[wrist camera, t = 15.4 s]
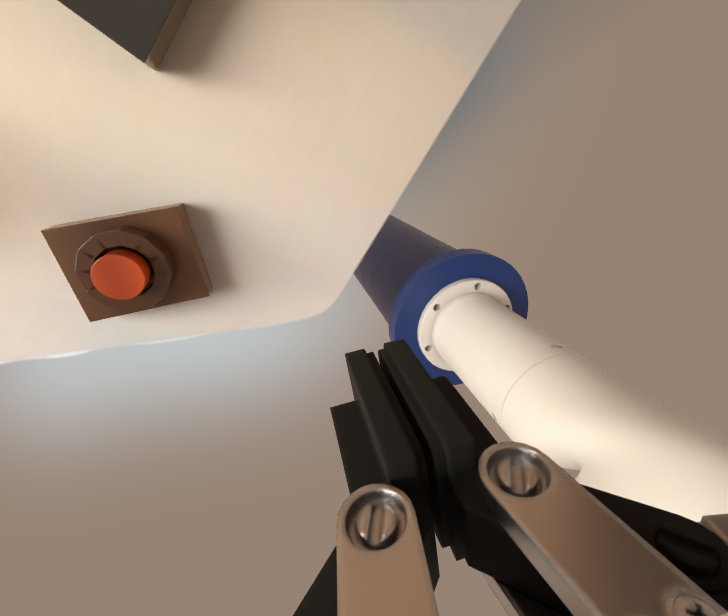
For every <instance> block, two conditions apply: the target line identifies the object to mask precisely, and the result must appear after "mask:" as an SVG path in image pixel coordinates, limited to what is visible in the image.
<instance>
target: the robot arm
mask: <svg viewBox="0 0 728 616" xmlns="http://www.w3.org/2000/svg"><path fill="white" fill-rule="evenodd" d="M434 305H435V306H434ZM417 335H418V342H419V346H420V348H421V350H422V353H423V354H424V355H425V357H426V358H427V359H428V360H429V361H430V362H431V363H432V364H433V365H435V366H437V367H438V368H441V369H444V370H448V371H454V372H455V373H456V374H457V376H458V377H459V378H460V379H461V380H462V382H463V383H464V384H465V385H466V386H467V388H468V389H469V390H470V391H471V392H472V393H473V395H474V396H475V397H476V398H477V399H478V401H479V402H480V403H481V404H482V405H483V407H484V408H485V409H486V410H487V411H488V412H489V414H490V415H491V416H492V417H493V418H494V420H495V421H496V422H497V423H498V424H499V425H500V427H501V428H502V429H503V430H504V431H505V433H506V434H507V435H508V436H509V437H510V438H511V440H512V442H500V443H497V441H496V440H495V439H494V438H493V437H492V435H491V434H490V432H489V431H488V430H487V429H486V428H485V426H484V425H483V423H482V422H481V421H480V420H479V418H478V417H477V416H476V415H475V413H474V412H473V411H472V409H471V408H470V407H469V406H468V405H467V403H466V402H465V400H464V399H463V398H462V397H461V395H460V394H459V393H458V391H457V390H456V389H455V388H454V387H453V385H452V384H451V382H450V381H449V380H448V379H447V378H446V377H445V376H440V377H436V378H433V379H432V378H431V377H430V375H429V374H428V372H427V371H426V370H425V368H424V367H423V365H422V364H421V363H420V361H419V360H418V358H417V357H416V355H415V354H414V353H413V351H412V350H411V348H410V347H409V346H408V344H407V343H406V341H405V340H404V339H399V340H395V341H391V342H388V343H384V349H381V350H378V356H379V362H380V365H379V363H378V361H377V359H376V357H375V355H374V353H373V352H370V353H366V351H365V350H364V349H361V350H357V351H354V352H350V353H346V354H345V357H346V362H347V366H348V371H349V376H350V381H351V385H352V390H353V395H354V399H355V401H352V402H349V403H345V404H341V405H338V406H335V407H331V408H330V409H331V413H332V417H333V422H334V426H335V431H336V435H337V440H338V444H339V448H340V453H341V457H342V461H343V465H344V470H345V474H346V478H347V483H348V487H349V492H350V496H349V497H348V498H347V499H346V500H345V501H344V502H343V504H342V506H341V508H340V510H339V513H338V517H337V524H336V542H337V543H336V544H337V545H336V547H335V549H334V550H333V552H332V553H331V555H330V557H329V558H328V560H327V561H326V563H325V565H324V566H323V568H322V569H321V571H320V573H319V574H318V576H317V578H316V579H315V581H314V583H313V584H312V586H311V587H310V589H309V590H308V592H307V594H306V595H305V597H304V599H303V600H302V602H301V603H300V605H299V607H298V608H297V610H296V612H295V613H294V615H293V616H439V613H438V609H437V605H436V600H435V596H434V590H435V588H436V585H437V582H438V579H439V577H440V575H439V566H438V557H437V549H436V540H435V533H436V536H437V538H438V540H439V542H440V545H441V546H442V548H444V547H447V546H450V547H451V549H452V552H453V554H454V556H455V558H456V561H458V560H460V559H463V558H465V559H466V562H467V564H468V565H469V566H470V567H473V568H475V569H477V570H479V571H481V572H483V575H484V577H485V579H486V582H487V583H488V585H489V587H490V588H491V590H492V591H493V593H494V594H495V596H496V598H497V599H498V601H499V602H500V604H501V605H502V606H503V608H504V610H505V611H506V613H507V614H508V615H509V616H728V436H726V435H724V434H722V433H720V432H718V431H716V430H713V429H711V428H709V427H707V426H705V425H703V424H701V423H698V422H697V421H695V420H693V419H690V418H688V417H686V416H684V415H682V414H680V413H678V412H676V411H674V410H672V409H670V408H668V407H666V406H664V405H662V404H660V403H658V402H656V401H654V400H653V399H651V398H649V397H647V396H645V395H643V394H642V393H640V392H638V391H636V390H635V389H633V388H631V387H629V386H628V385H626V384H625V383H623V382H621V381H619V380H618V379H616V378H615V377H613V376H612V375H610V374H608V373H607V372H605V371H604V370H602V369H600V368H599V367H597V366H596V365H594V364H593V363H591V362H590V361H588V360H586V359H585V358H584V357H582V356H580V355H579V354H577V353H576V352H574V351H573V350H571V349H570V348H568V347H567V346H565V345H564V344H562V343H561V342H559V341H557V340H556V339H555V338H553V337H552V336H550V335H548V334H547V333H545V332H544V331H542V330H541V329H539V328H538V327H536V326H535V325H533V324H532V323H530V322H528V321H527V320H526V319H524V318H523V317H521V316H520V315H518V314H517V313H515V312H513V311H512V305H511V302H510V299H509V297H508V296H507V294H506V292H505V291H504V290H503V289H502V288H501V287H499V286H498V285H496V284H495V283H493V282H491V281H488V280H486V279H481V278H466V279H461V280H458V281H456V282H453V283H451V284H449V285H447V286H446V287H444V288H442V289H441V290H440V291H439V292H438V293H437V294H435V295H434V296H433V298H432V299H431V300H430V301H429V302H428V303H427V305H426V307H425V309H424V310H423V312H422V315H421V317H420V320H419V324H418V329H417ZM561 467H562V468H567V469H573V470H580V473H579V475H578V477H577V478H576V479H574V478H572V477H571V476H570V475H569V474H568V473H566V471H564V470H563V469H562V468H561Z"/></svg>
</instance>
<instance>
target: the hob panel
mask: <svg viewBox="0 0 728 616" xmlns="http://www.w3.org/2000/svg"><path fill="white" fill-rule="evenodd" d="M58 1H59V2H61V3H62V4H63V5H65V6H66V7H67V8H69V9H70V10H72V11H73V12H74V13H76V14H77V15H78V16H80V17H81V18H83V19H84V20H85V21H87V22H88V23H90V24H91V25H92V26H94V27H95V28H96V29H98V30H99V31H101V32H102V33H103V34H105V35H106V36H107V37H109V38H110V39H112V40H113V41H114V42H116V43H117V44H118V45H120V46H121V47H123V48H124V49H125V50H127V51H128V52H129V53H131V54H132V55H134V56H135V57H136V58H138V59H139V60H140V61H142V62H143V63H145V64H146V65H148V66H149V67H150V68H152V69H153V70H155V71H156V70H157V69H158V67H159V65H160V63H161V61H162V59H163V57H164V55H165V53H166V51H167V49H168V47H169V45H170V43H171V41H172V39H173V37H174V35H175V33H176V31H177V29H178V27H179V25H180V23H181V21H182V19H183V17H184V15H185V13H186V11H187V9H188V7H189V5H190V3H191V1H192V0H58Z"/></svg>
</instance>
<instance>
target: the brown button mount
mask: <svg viewBox="0 0 728 616" xmlns="http://www.w3.org/2000/svg"><path fill="white" fill-rule="evenodd" d="M41 232H42V234H43V236H44V238H45V239H46V241H47V243H48V245H49V247H50V249H51V251H52V252H53V254H54V256H55V258H56V260H57V262H58V263H59V265H60V267H61V269H62V271H63V273H64V275H65V276H66V278H67V280H68V282H69V284H70V286H71V288H72V289H73V291H74V293H75V295H76V297H77V299H78V300H79V302H80V304H81V306H82V308H83V310H84V312H85V313H86V315H87V317H88V319H89V321H90V322H92V321H97V320H101V319H106V318H111V317H115V316H120V315H124V314H129V313H133V312H138V311H143V310H147V309H152V308H156V307H161V306H165V305H170V304H175V303H179V302H184V301H188V300H193V299H197V298H202V297H207V296H209V295H210V293H211V290H212V288H213V287H212V284H211V282H210V279H209V276H208V273H207V270H206V267H205V265H204V262H203V259H202V256H201V253H200V251H199V248H198V245H197V242H196V239H195V236H194V234H193V231H192V228H191V225H190V222H189V220H188V217H187V214H186V211H185V208H184V205H183V203H179V204H173V205H167V206H162V207H156V208H150V209H145V210H139V211H133V212H128V213H122V214H116V215H111V216H105V217H100V218H94V219H88V220H83V221H77V222H71V223H66V224H60V225H55V226H52V227H49V228H47V229H44V230H42V231H41ZM117 249H126V250H130V251H133V252H136V253H138V254H139V255H141V256H142V257H143V258H144V259H145V260H146V261H147V262H148V264H149V266H150V268H151V280H150V282H149V284H148V285H147V286H146V287H145V289H144V290H143V291H142V292H141V293H140V294H139V295H138V296H136V297H134V298H131V299H127V300H118V299H113V298H110V297H107V296H106V295H104V294H102V293H101V292H100V291H99V290H98V289H97V288H96V287H95V286H94V284H93V282H92V279H91V268H92V266H93V264H94V263H95V261H96V260H98V259H99V258H101V257H102V256H104V255H105V254H107V253H108V252H110V251H113V250H117Z"/></svg>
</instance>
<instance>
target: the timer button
mask: <svg viewBox="0 0 728 616" xmlns="http://www.w3.org/2000/svg"><path fill="white" fill-rule="evenodd" d="M91 279H92V282H93V284H94V286H95V287H96V288H97V289H98V290H99V291H100V292H101V293H102V294H104V295H106V296H107V297H110V298H113V299H118V300H127V299H131V298H134V297H136V296H138V295H139V294H140V293H141V292H142V291H143V290H144V289H145V287H146V286H147V285H148V284H149V282H150V280H151V268H150V266H149V264H148V262H147V261H146V260H145V259H144V258H143V257H142V256H141V255H139V254H138V253H136V252H133V251H130V250H126V249H117V250H113V251H110V252H108V253H107V254H105V255H104V256H102V257H101V258H99V259H98V260H96V261H95V263H94V264H93V266H92V268H91Z"/></svg>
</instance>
